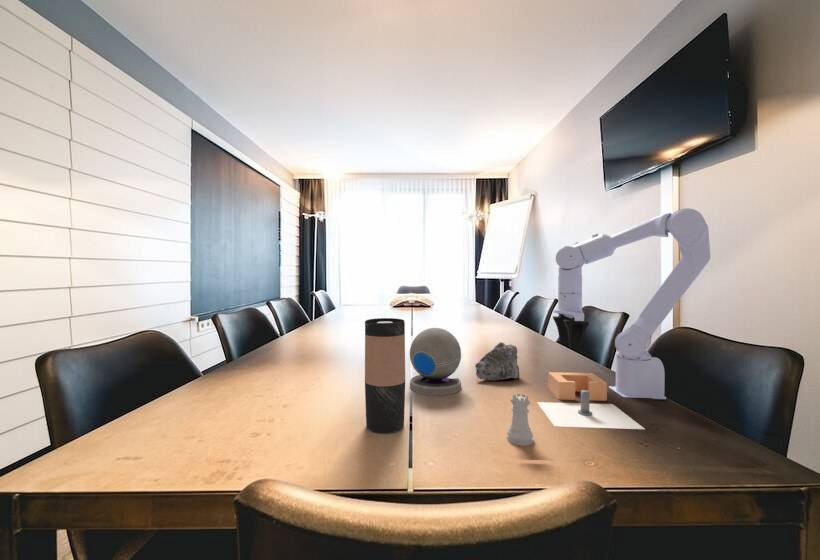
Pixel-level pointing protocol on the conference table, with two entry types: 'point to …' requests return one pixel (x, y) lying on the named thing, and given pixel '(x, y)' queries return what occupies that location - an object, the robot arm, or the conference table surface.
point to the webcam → (435, 362)
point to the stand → (587, 414)
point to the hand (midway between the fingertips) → (569, 345)
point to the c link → (576, 385)
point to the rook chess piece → (520, 422)
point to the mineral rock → (499, 363)
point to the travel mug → (385, 374)
